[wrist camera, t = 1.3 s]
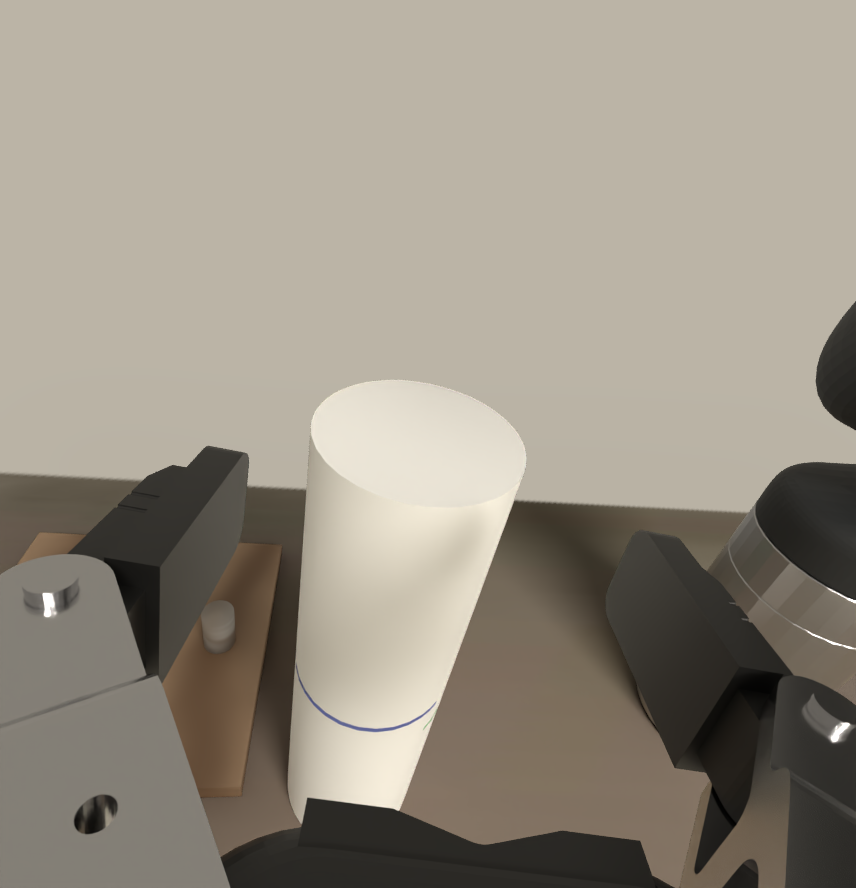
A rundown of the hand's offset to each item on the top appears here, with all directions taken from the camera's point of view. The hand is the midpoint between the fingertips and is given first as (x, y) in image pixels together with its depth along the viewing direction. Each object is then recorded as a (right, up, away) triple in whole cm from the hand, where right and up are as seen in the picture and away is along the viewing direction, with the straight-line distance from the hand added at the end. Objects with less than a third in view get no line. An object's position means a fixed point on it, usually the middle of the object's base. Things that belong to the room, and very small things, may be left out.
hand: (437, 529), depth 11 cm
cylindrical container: (-5, -18, +21) cm, 28 cm away
